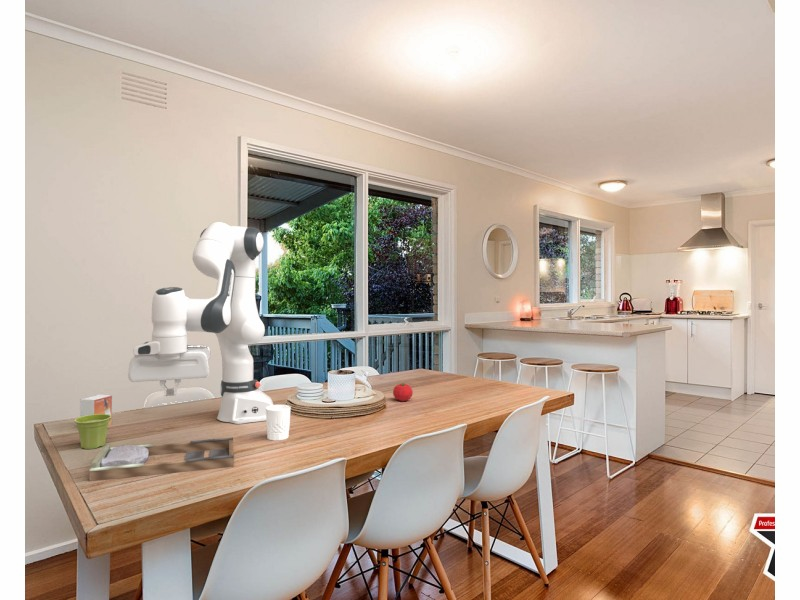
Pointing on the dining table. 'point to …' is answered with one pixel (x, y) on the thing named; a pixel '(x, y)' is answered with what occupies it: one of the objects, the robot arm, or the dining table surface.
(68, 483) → the dining table surface
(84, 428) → the plant pot
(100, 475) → the box
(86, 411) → the small box
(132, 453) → the stone block
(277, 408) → the white cup
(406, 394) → the tomato
